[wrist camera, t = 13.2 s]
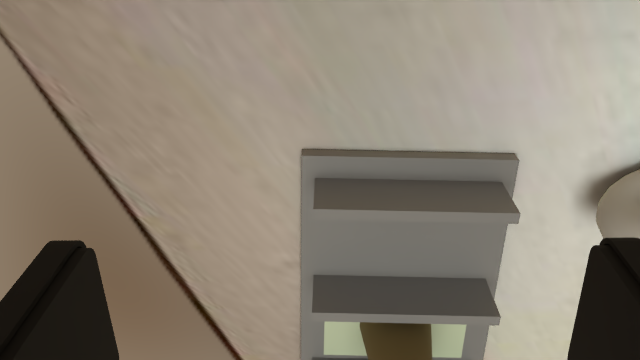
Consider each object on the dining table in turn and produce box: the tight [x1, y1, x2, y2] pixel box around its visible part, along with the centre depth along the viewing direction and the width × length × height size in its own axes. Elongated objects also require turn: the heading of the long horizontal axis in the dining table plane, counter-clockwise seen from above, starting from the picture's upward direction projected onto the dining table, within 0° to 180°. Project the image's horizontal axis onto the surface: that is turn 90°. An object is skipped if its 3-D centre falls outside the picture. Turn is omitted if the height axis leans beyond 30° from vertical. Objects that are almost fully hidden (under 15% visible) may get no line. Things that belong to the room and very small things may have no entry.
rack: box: [301, 149, 520, 360], centre depth 47 cm, size 16×22×6 cm
